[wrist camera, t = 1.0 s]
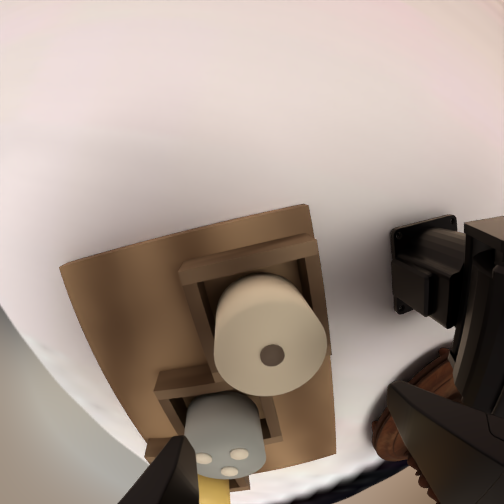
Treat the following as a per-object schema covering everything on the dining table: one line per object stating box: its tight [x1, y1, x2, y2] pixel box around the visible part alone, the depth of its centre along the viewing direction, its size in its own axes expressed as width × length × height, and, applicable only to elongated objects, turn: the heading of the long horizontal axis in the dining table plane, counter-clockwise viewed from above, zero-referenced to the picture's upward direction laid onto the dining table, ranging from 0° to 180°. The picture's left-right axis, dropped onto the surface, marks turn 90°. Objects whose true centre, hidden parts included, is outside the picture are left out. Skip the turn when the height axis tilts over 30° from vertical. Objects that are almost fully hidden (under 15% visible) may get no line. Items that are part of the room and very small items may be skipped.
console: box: [59, 204, 336, 492], centre depth 18 cm, size 16×23×3 cm
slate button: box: [184, 391, 266, 479], centre depth 15 cm, size 5×5×4 cm
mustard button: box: [198, 474, 230, 504], centre depth 16 cm, size 5×5×4 cm
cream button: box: [214, 272, 327, 396], centre depth 13 cm, size 5×5×4 cm
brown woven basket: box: [372, 348, 464, 504], centre depth 13 cm, size 15×15×20 cm
